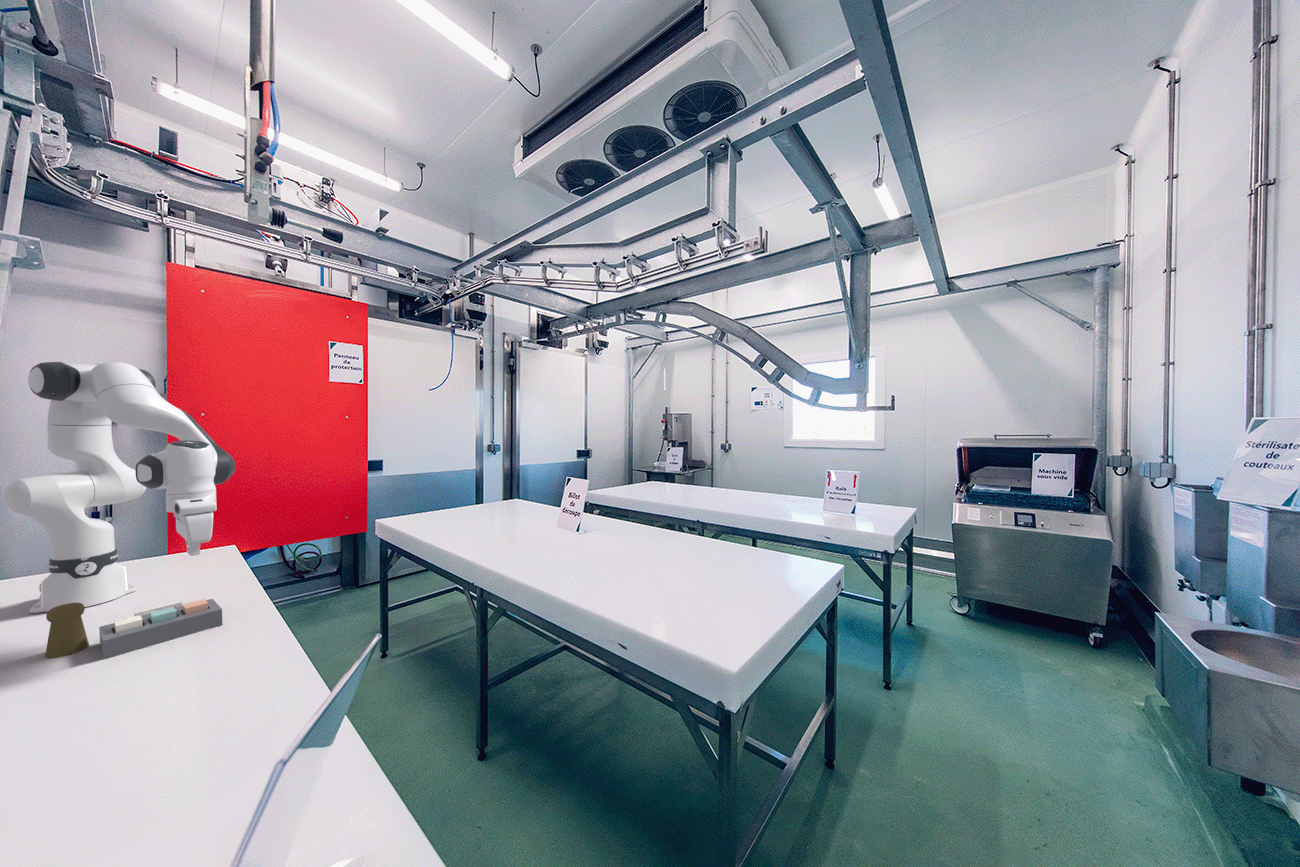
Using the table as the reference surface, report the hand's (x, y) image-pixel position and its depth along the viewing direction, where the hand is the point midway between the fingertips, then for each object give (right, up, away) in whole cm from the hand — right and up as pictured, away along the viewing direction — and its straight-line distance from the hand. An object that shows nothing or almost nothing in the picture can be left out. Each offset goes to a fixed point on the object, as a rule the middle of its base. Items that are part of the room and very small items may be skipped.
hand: (193, 554), depth 108 cm
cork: (-17, -20, -12) cm, 28 cm away
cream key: (-6, -17, -9) cm, 20 cm away
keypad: (-3, -19, -4) cm, 20 cm away
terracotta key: (0, -16, +1) cm, 16 cm away
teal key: (-3, -16, -4) cm, 17 cm away
